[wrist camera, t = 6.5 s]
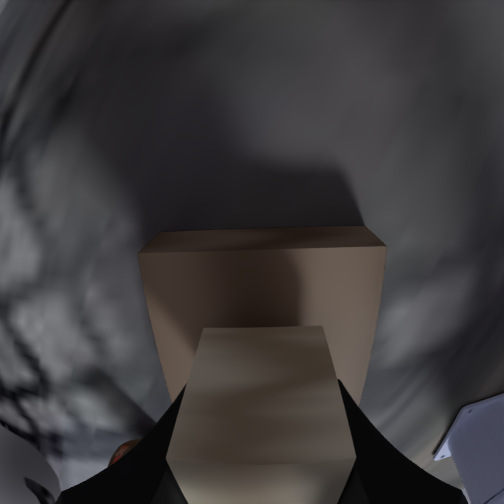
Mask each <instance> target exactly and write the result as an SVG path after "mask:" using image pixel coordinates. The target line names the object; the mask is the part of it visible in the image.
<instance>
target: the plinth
mask: <svg viewBox="0 0 504 504" xmlns="http://www.w3.org/2000/svg"><path fill="white" fill-rule="evenodd" d="M386 253H387V246H386V245H385V244H384V243H383V242H382V241H381V240H380V239H379V238H378V237H377V236H376V235H375V234H374V233H372V232H371V231H370V230H369V229H368V228H367V227H366V226H331V227H285V228H251V229H222V230H196V231H173V232H159V233H158V234H157V235H156V236H155V237H154V238H153V239H152V240H151V241H150V242H149V243H148V244H147V245H146V246H144V247H143V248H142V249H141V250H140V251H139V252H138V259H139V265H140V271H141V276H142V282H143V287H144V292H145V297H146V302H147V306H148V311H149V316H150V320H151V325H152V329H153V333H154V337H155V342H156V346H157V350H158V354H159V358H160V361H161V365H162V369H163V373H164V376H165V380H166V383H167V387H168V390H169V394H170V397H171V401H172V403H173V402H174V400H175V399H176V398H177V396H178V395H179V393H180V392H181V390H182V389H183V387H184V386H185V384H186V383H187V382H188V378H189V375H190V371H191V368H192V364H193V361H194V358H195V354H196V351H197V348H198V344H199V341H200V338H201V334H202V331H203V328H260V327H294V326H316V325H323V329H324V332H325V336H326V340H327V343H328V347H329V350H330V354H331V358H332V361H333V365H334V369H335V373H336V376H337V379H340V380H341V381H342V383H343V385H344V386H345V388H346V389H347V391H348V392H349V394H350V395H351V397H352V398H353V400H354V401H355V403H356V404H357V405H358V407H359V403H360V400H361V396H362V392H363V387H364V383H365V379H366V375H367V370H368V366H369V361H370V356H371V351H372V346H373V341H374V336H375V330H376V325H377V319H378V313H379V307H380V300H381V293H382V286H383V278H384V270H385V262H386Z"/></svg>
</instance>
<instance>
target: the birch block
mask: <svg viewBox="0 0 504 504" xmlns="http://www.w3.org/2000/svg"><path fill="white" fill-rule="evenodd" d="M166 460H167V462H168V464H169V467H170V469H171V471H172V473H173V475H174V477H175V479H176V481H177V483H178V485H179V487H180V489H181V491H182V493H183V494H184V496H185V498H186V500H187V502H188V504H337V503H338V500H339V498H340V496H341V494H342V491H343V489H344V487H345V484H346V482H347V480H348V477H349V475H350V472H351V470H352V467H353V465H354V462H355V460H356V454H355V449H354V445H353V441H352V436H351V432H350V428H349V424H348V420H347V416H346V412H345V408H344V404H343V400H342V396H341V392H340V388H339V384H338V380H337V376H336V373H335V369H334V365H333V361H332V358H331V354H330V350H329V347H328V343H327V340H326V336H325V332H324V329H323V325H316V326H294V327H260V328H203V331H202V334H201V338H200V341H199V344H198V348H197V351H196V354H195V358H194V361H193V364H192V368H191V371H190V375H189V378H188V382H187V385H186V388H185V392H184V395H183V399H182V402H181V406H180V409H179V413H178V416H177V420H176V423H175V427H174V430H173V434H172V438H171V441H170V445H169V448H168V452H167V456H166Z"/></svg>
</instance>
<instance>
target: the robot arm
mask: <svg viewBox="0 0 504 504" xmlns="http://www.w3.org/2000/svg"><path fill="white" fill-rule="evenodd" d="M337 380H338V384H339V388H340V392H341V396H342V400H343V404H344V408H345V412H346V416H347V420H348V424H349V428H350V432H351V436H352V441H353V445H354V449H355V454H356V460H355V462H354V465H353V467H352V470H351V472H350V475H349V477H348V480H347V482H346V484H345V487H344V489H343V491H342V494H341V496H340V498H339V500H338V503H337V504H468V502H467V500H466V497H465V496H464V494H463V492H462V490H460V489H458V488H456V487H453V486H451V485H449V484H447V483H445V482H443V481H441V480H439V479H437V478H436V477H434V476H432V475H431V474H429V473H427V472H426V471H425V470H423V469H422V468H420V467H419V466H417V465H416V464H415V463H413V462H412V461H410V460H409V459H408V458H407V457H405V456H404V455H403V454H402V453H401V452H399V451H398V450H397V449H396V448H395V447H394V446H393V445H392V444H391V443H390V442H389V441H388V440H387V439H386V438H385V437H384V436H383V435H382V434H381V433H380V432H379V431H378V430H377V429H376V428H375V427H374V425H373V424H372V423H371V422H370V421H369V419H368V418H367V417H366V416H365V414H364V413H363V412H362V411H361V409H360V408H359V407H358V405H357V404H356V403H355V401H354V400H353V398H352V397H351V395H350V394H349V392H348V391H347V389H346V388H345V386H344V385H343V383H342V381H341V380H340V379H337ZM186 385H187V383H186V384H185V386H184V387H183V389H182V390H181V392H180V393H179V395H178V396H177V398H176V399H175V400H174V402H173V403H172V404H171V406H170V407H169V408H168V410H167V411H166V412H165V413H164V415H163V416H162V417H161V418H160V420H159V421H158V422H157V423H156V424H155V425H154V426H153V428H152V429H151V430H150V431H149V432H148V433H147V434H146V435H145V436H144V437H143V438H142V439H141V440H140V441H139V442H138V443H137V444H136V445H135V446H134V447H133V448H132V449H131V450H129V451H128V452H127V453H126V454H125V455H123V456H122V457H121V458H120V459H118V460H117V461H116V462H114V463H113V464H112V465H110V466H109V467H107V468H106V469H104V470H103V471H101V472H99V473H98V474H96V475H94V476H93V477H91V478H89V479H88V480H86V481H84V482H82V483H80V484H78V485H75V486H73V487H71V488H69V489H67V490H64V491H62V492H61V494H60V496H59V497H58V499H57V501H56V504H188V502H187V500H186V498H185V496H184V494H183V493H182V491H181V489H180V487H179V485H178V483H177V481H176V479H175V477H174V475H173V473H172V471H171V469H170V467H169V464H168V462H167V460H166V456H167V452H168V448H169V445H170V441H171V438H172V434H173V430H174V427H175V423H176V420H177V416H178V413H179V409H180V406H181V402H182V399H183V395H184V392H185V388H186ZM449 456H452V458H453V460H454V463H455V465H456V467H457V470H458V472H459V474H460V477H461V479H462V481H463V484H464V486H465V489H466V491H467V493H468V496H469V499H470V501H471V504H504V393H502V394H500V395H497V396H494V397H491V398H488V399H485V400H482V401H479V402H476V403H473V404H470V405H467V406H464V407H463V408H462V409H461V410H460V412H459V414H458V415H457V417H456V419H455V421H454V423H453V425H452V426H451V428H450V430H449V432H448V433H447V435H446V437H445V438H444V440H443V442H442V443H441V445H440V447H439V448H438V450H437V451H436V453H435V454H434V456H433V459H434V460H435V461H436V460H440V459H443V458H446V457H449Z"/></svg>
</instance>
